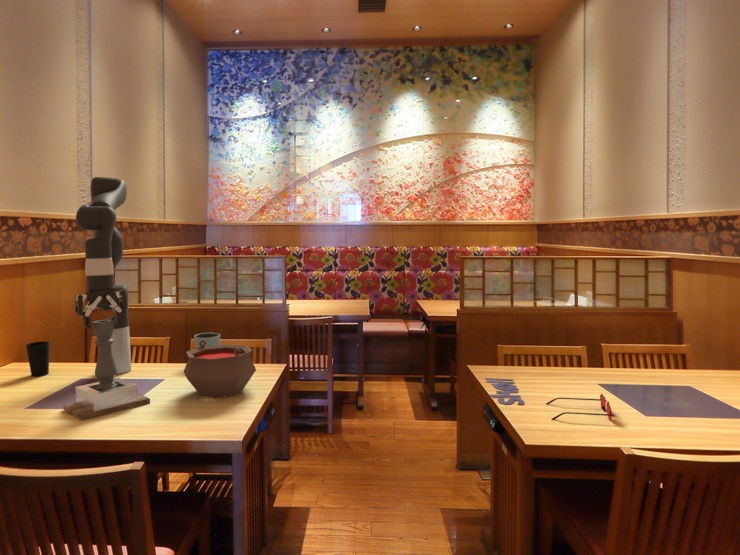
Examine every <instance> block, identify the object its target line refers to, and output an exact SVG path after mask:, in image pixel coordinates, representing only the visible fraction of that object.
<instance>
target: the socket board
mask: <svg viewBox="0 0 740 555" xmlns="http://www.w3.org/2000/svg"><path fill="white" fill-rule="evenodd" d="M150 403H151V398H150V397H147V396H145V395H142V394H141V393H138V401H135V402H131V403H127V404H123V405H119V406H115V407H111V408H108V409H104V410H100V411H96V412H93V411H91V410H90V409H88V408H86V407H84V406H82V405H80V404H78V403H76V402H73V403H69V404H64V405H62V406H63V411H64V410H65V411H64V412H66V413H67V414H69V415H71V414H72V415H71V416H73V415H74V416H73V417H75V418H77V419H79V420H80V419H81V420H80V421H86V420H90V419H94V418H97V417H101V416H105V415H108V414H113V413H114V414H115V413H116V412H121V411H125V410H129V409H132V408H136V407H139V406H143V405H147V404H150Z"/></svg>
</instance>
